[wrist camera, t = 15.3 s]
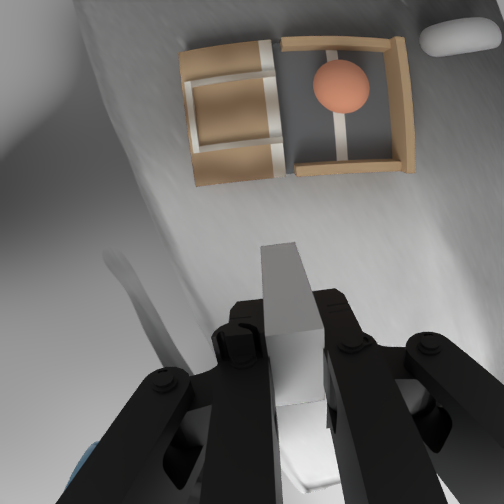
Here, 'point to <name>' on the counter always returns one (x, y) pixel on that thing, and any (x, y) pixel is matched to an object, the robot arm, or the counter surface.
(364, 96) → the ball
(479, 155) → the counter surface
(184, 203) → the counter surface
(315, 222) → the counter surface
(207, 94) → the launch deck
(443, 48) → the donut
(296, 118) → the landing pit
